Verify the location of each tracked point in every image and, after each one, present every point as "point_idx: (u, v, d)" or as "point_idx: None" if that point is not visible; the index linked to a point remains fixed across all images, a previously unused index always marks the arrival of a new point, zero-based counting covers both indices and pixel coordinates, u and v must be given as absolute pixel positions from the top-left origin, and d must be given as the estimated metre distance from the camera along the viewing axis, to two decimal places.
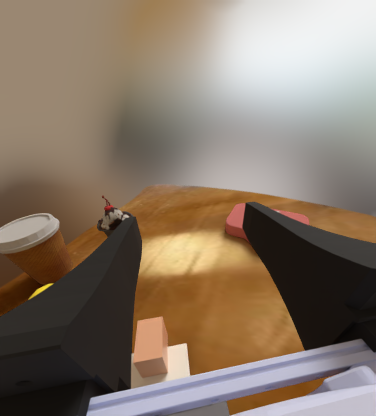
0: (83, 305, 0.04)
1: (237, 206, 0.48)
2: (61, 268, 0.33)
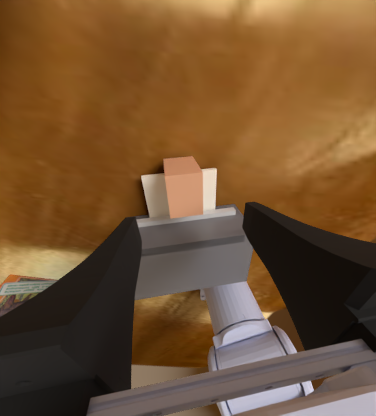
0: (83, 305, 0.04)
1: None
2: None
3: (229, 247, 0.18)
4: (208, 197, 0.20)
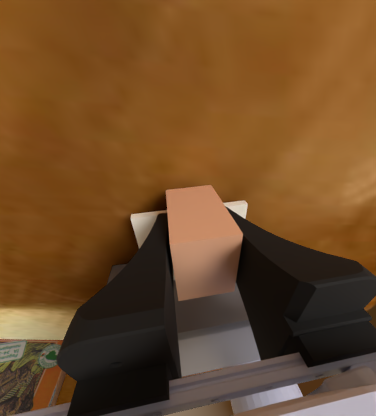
0: (164, 291, 0.04)
1: None
2: None
3: None
4: None
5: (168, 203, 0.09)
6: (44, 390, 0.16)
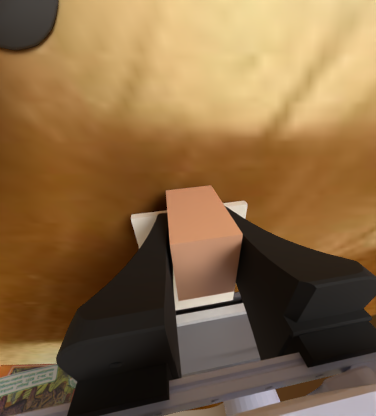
0: (164, 291, 0.04)
1: None
2: None
3: None
4: None
5: (168, 203, 0.09)
6: None
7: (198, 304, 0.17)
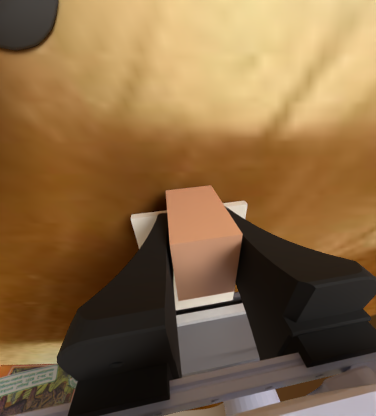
0: (165, 291, 0.04)
1: None
2: None
3: None
4: None
5: (168, 203, 0.09)
6: None
7: (198, 304, 0.17)
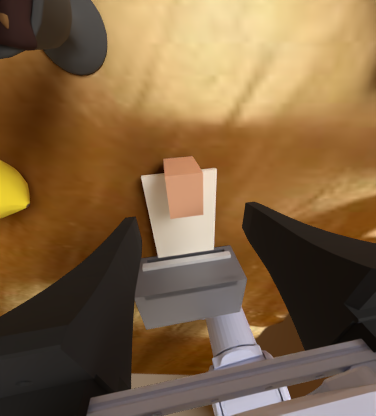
0: (83, 305, 0.04)
1: None
2: None
3: (225, 289, 0.22)
4: (209, 198, 0.20)
5: (164, 164, 0.16)
6: None
7: (188, 251, 0.24)
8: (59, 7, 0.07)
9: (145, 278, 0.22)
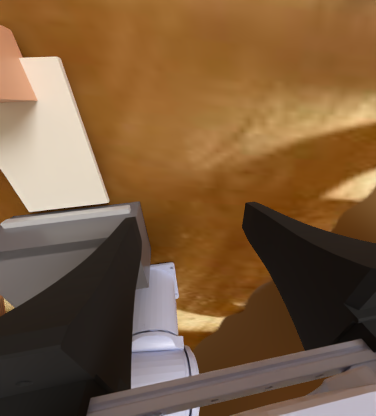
0: (83, 305, 0.04)
1: None
2: None
3: None
4: (65, 112, 0.14)
5: None
6: None
7: (70, 204, 0.18)
8: None
9: None
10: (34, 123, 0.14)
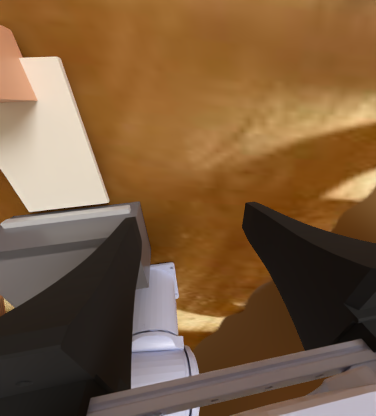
0: (83, 305, 0.04)
1: None
2: None
3: None
4: (65, 112, 0.14)
5: None
6: None
7: (70, 204, 0.18)
8: None
9: None
10: (34, 123, 0.14)
